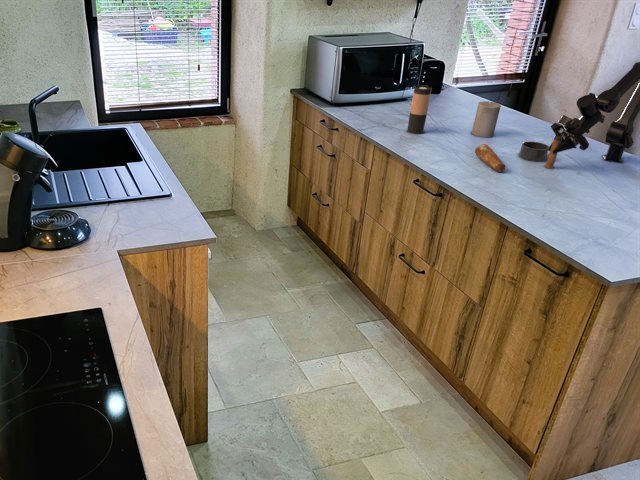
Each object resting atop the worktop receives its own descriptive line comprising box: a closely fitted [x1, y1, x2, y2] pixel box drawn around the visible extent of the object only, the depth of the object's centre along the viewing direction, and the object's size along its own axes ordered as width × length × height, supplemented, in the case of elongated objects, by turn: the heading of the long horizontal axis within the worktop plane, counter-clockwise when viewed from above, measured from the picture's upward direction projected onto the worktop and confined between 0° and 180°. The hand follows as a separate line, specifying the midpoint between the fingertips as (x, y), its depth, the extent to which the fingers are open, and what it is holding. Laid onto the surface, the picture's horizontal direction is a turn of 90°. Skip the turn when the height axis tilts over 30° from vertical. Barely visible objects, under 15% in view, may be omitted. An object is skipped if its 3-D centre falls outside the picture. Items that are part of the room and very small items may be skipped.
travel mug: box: [407, 84, 432, 135], centre depth 270 cm, size 8×8×20 cm
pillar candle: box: [471, 100, 502, 138], centre depth 269 cm, size 10×10×15 cm
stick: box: [545, 135, 562, 169], centre depth 235 cm, size 3×3×12 cm
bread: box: [474, 143, 506, 173], centre depth 238 cm, size 6×19×6 cm, turn 3°
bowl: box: [518, 141, 550, 162], centre depth 247 cm, size 10×10×5 cm
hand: (550, 151), depth 234 cm, fingers closed on stick, 3 cm apart
